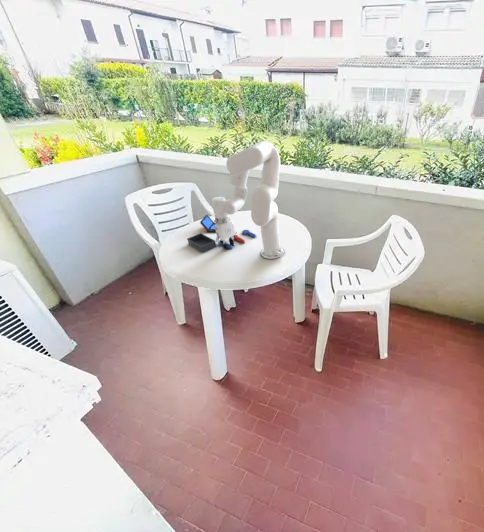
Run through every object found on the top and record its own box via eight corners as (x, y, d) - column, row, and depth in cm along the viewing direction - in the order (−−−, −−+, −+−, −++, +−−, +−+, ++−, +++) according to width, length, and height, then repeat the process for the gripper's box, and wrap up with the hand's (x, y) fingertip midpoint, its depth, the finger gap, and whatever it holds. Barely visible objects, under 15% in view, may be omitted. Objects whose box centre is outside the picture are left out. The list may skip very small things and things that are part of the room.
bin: (216, 246, 169) (215, 240, 167) (202, 252, 163) (201, 246, 161) (202, 238, 177) (200, 233, 175) (188, 244, 171) (187, 238, 169)
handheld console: (218, 232, 184) (216, 222, 180) (202, 232, 184) (199, 222, 180) (224, 224, 194) (222, 214, 190) (209, 224, 194) (206, 214, 190)
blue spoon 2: (258, 236, 180) (257, 233, 178) (253, 239, 177) (252, 236, 176) (246, 231, 186) (245, 228, 184) (241, 233, 183) (240, 230, 182)
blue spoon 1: (235, 247, 168) (234, 244, 167) (229, 250, 165) (228, 247, 164) (223, 241, 174) (222, 238, 173) (217, 244, 171) (216, 241, 170)
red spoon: (247, 242, 174) (246, 238, 173) (241, 244, 171) (240, 241, 170) (235, 236, 180) (234, 233, 179) (229, 238, 177) (229, 235, 176)
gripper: (213, 226, 150) (220, 255, 161) (239, 216, 161) (244, 243, 172) (205, 222, 154) (212, 250, 165) (231, 212, 165) (236, 239, 176)
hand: (228, 246), depth 168 cm, fingers open, 4 cm apart
